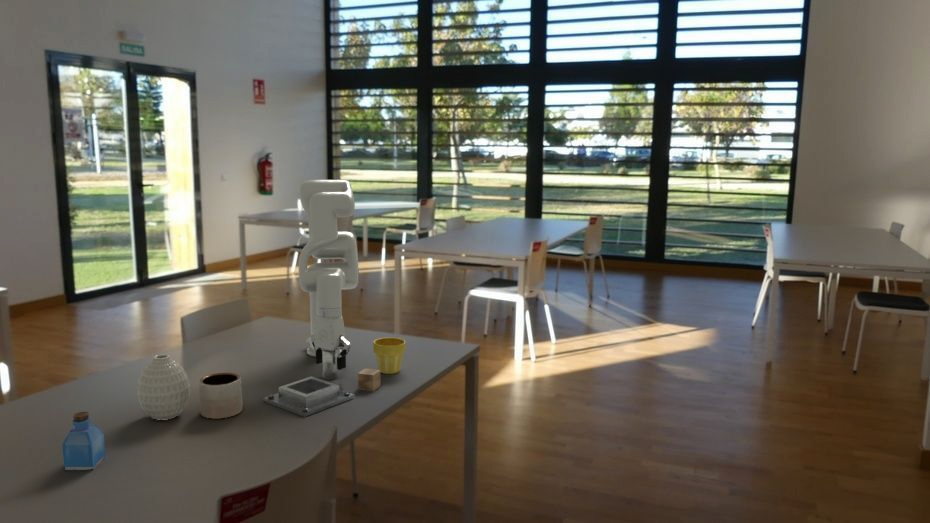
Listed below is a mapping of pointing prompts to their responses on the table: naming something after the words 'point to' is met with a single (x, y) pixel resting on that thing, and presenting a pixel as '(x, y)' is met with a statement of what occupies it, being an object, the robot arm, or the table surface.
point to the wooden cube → (369, 379)
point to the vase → (163, 388)
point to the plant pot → (389, 354)
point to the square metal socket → (308, 396)
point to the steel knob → (329, 364)
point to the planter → (220, 395)
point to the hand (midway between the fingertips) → (330, 365)
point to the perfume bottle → (83, 443)
